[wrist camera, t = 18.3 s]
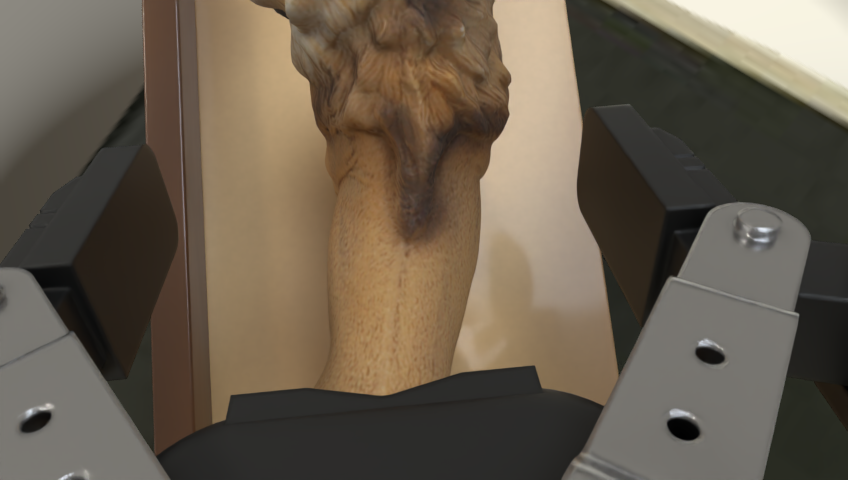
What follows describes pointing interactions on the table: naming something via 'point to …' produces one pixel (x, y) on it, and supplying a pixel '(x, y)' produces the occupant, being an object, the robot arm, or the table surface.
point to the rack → (314, 207)
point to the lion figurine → (400, 174)
